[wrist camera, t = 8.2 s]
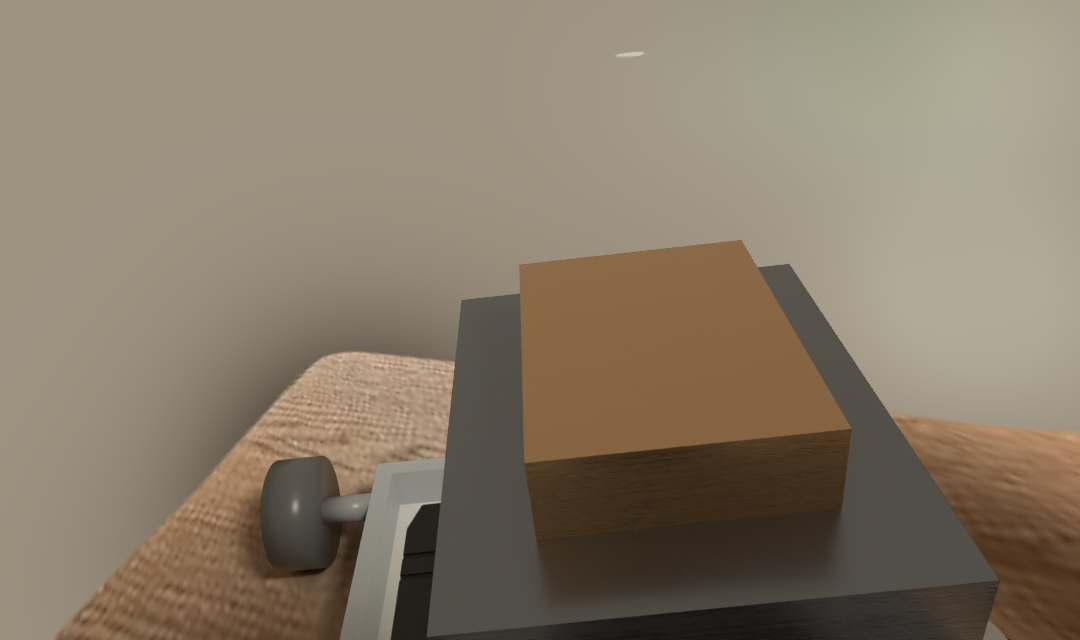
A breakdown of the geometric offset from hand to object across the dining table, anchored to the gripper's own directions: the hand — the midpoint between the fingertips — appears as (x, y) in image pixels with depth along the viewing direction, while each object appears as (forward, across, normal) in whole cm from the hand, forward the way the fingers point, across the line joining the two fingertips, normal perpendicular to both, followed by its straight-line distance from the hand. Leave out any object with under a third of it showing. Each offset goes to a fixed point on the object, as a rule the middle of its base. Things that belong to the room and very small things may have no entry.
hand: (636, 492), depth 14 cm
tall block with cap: (-3, 0, +6) cm, 7 cm away
